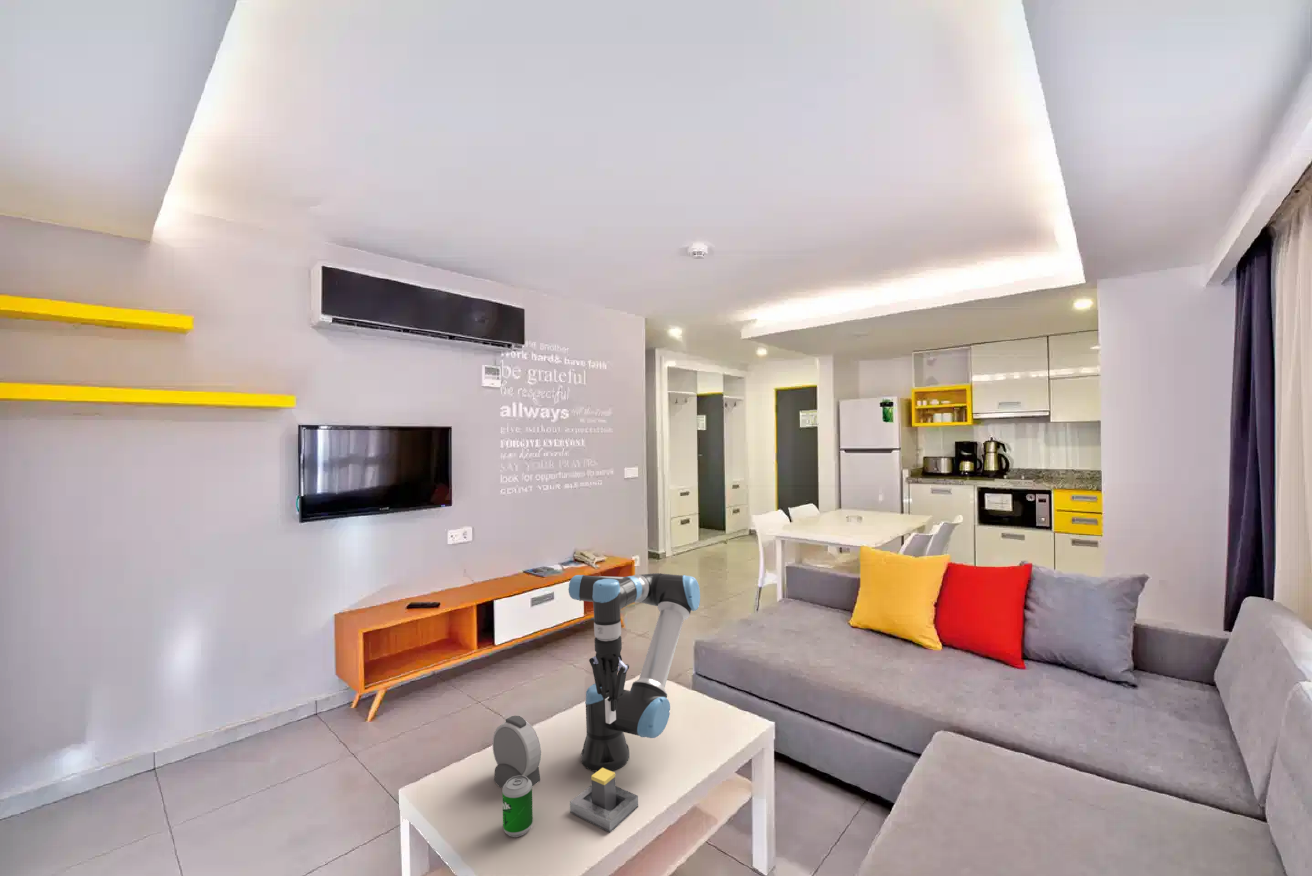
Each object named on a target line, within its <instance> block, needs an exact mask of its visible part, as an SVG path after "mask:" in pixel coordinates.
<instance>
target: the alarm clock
mask: <svg viewBox="0 0 1312 876" xmlns="http://www.w3.org/2000/svg"><path fill="white" fill-rule="evenodd" d="M493 733H494V734H493V736H492V751H493V752H492V753H493V757H494V760H495V762H496V766H495V768H494V775H493V776H494V777H493V778H494V779H493V781H494V783H495V784H496V785H497V786H498V787H499V788H501V789H503V786H504V784H505V783H506V782H507V780H509V779H510V778H512V777H514V776H519V775H520V776H526V777H527V778H528V779H529V780H531V782H532V787H534V786H535V785H536V784H538V783H539V782H541V777H540V763H541V759H542V758H541V757H542V749H541V742H540V739H539V738H540V737H539V736H538V734H537V731H536V730H535V727H533V726H532V724H530V722H528V721H527V720H526V719H525V718H523V717H522V716H520V715H512V716H509V717H508V718H506V719H505V722H503V723H502V724H501V723H500V725H498V726H497V727H496V729H495V731H494V732H493Z"/></svg>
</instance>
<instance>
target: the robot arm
mask: <svg viewBox="0 0 1312 876" xmlns="http://www.w3.org/2000/svg"><path fill="white" fill-rule="evenodd" d="M567 590H568V595H569V597H570V598H571V599H573V600H575V601H579V602H592V605H593V607H592V608H593V630H594V631H593V632H594V651H595V655H594V656H592V657H591V658H589V659H588V662H589V664H590V666H591V668H592V674H593V678H594V683H593V684H591V685H590V686H589V687H588V688H587V689H586V692H585V719H586V720H585V723H586V724H585V725H586V726H585V727H586V728H585V729H586V737H585V740H584V741H583V747H582V750H581V756H580V757H581V764H582V765H583V766H584V768H586V769H587V770H590V771H592V772H597V771H599V770H600V769H601V768H605V769H607V770H610V771H612V772H614V771H616V770H618V769H620V768H622V767H624V766H625V765H626V764H627V763H628V761H629V759H630V748H629V747H630V746H629V745H628V742H627V739H626V736H625V733H626V734H631V735H634V736H637V737H638V736H639V737H640V738H648V739H655V738H658V737H659V736H660V735H661V734H663V732H664V730H665V729H666V726H667V725H668V722H669V720H670V719H669V718H670V715H671V713H670V710H671V703H670V701H669V699H668V693H667V691H666V689H665V688H666V685H667V681H668V677H669V673H670V671H671V670H670V669H671V668H672V667H671V666H672V664H673V660H674V656H675V652H676V649H677V644H678V641H679V638H680V634H681V632H682V627H683V624H684V621H686V620H688V619H689V618H690V615H691V613H692V612H694V611H697V610H698V609H699V606H700V602H701V592H700V590H701V589H700V585H699V583H698V580H697V579H696V577H694V576H691V575H686V574H683V575H679V574H671V573H670V574H669V573H662V572H661V573H657V572H656V573H643V574H633V575H629V576H604V575H603V576H602V575H585V574H575V575H574V576H572V577H571V578H570V580H569V583H568V589H567ZM633 603H642V604H646V605H650V606H653V607H657V609H658V611H659V615H658V618H657V620H656V624H655V628H654V630H653V634H652V636H651V640H650V643H649V646H648V649H647V653H646V655H645V656H646V657H645V659H644V662H643V665H642V668H641V671H640V674H639V679H637V680H635V681H633V682H632V684H631V687H630V690H628V689H625V683H626V677H627V672H628V670H629V669H630V664H629V663H627V664H625V662H624V661H623V658H622V655H621V654H622V653H621V651H622V649H623V647H622V645H623V644H622V643H623V642H622V636H621V635H622V619H621V613H622V612H621V610H623V609H624V608H625V607H626V608H627V607H628V606H629V605H632V604H633Z"/></svg>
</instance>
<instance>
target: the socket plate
mask: <svg viewBox="0 0 1312 876" xmlns="http://www.w3.org/2000/svg"><path fill="white" fill-rule="evenodd" d="M569 808H570V809H569V811H570V812H569V813H570V814H572V815H574V816H576V817H577V818H580V819H582V820H584V821H586V822H587V823H589V824H592V825H593V826H596V827H597V828H599V829H602V830H604V831H606V832H608V833H611V832H613V831H614V830H615V829H616V828H617V827H618V826H619V825H620V824H622V822H623V821H625V820H626V819H627V818H628V817H629V816H630V815H631V814H632V813H633V812H635V810H637V808H639V795H637V794H635V793H633V792H630V791H628V790H626V789H624V788H621V787H619V786H616V807H615V808H614V809H612V810H611V811H610V812H609V811H607V810H605V809H603V808H601V807H599V806H597V805H595V804H593V803H592V784H591V785H589V786H588V787H587V788H586V789H584V790H583V791H581V792H580V793H579V794H578V795H577V796H575V797H574V798H573V799H571V800H570V801H569Z"/></svg>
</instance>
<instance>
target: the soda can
mask: <svg viewBox="0 0 1312 876" xmlns="http://www.w3.org/2000/svg"><path fill="white" fill-rule="evenodd" d="M501 792H502V793H501V794H502V795H501V796H502V830H503V832H504V833H505V834H506V835H507V836H509V837H512V838H518V837H521V836H523V835H525V834H527V832H529V831H530V829H531V828H532V827H533V822H534V817H533V814H534V813H533V786H532V782H531V780H529V779H528V778H527V777H526V776H520V775H519V776H514V777H512V778H510V779H509V780H507V782H506V783H505V784H504V786H503V788H501Z"/></svg>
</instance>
